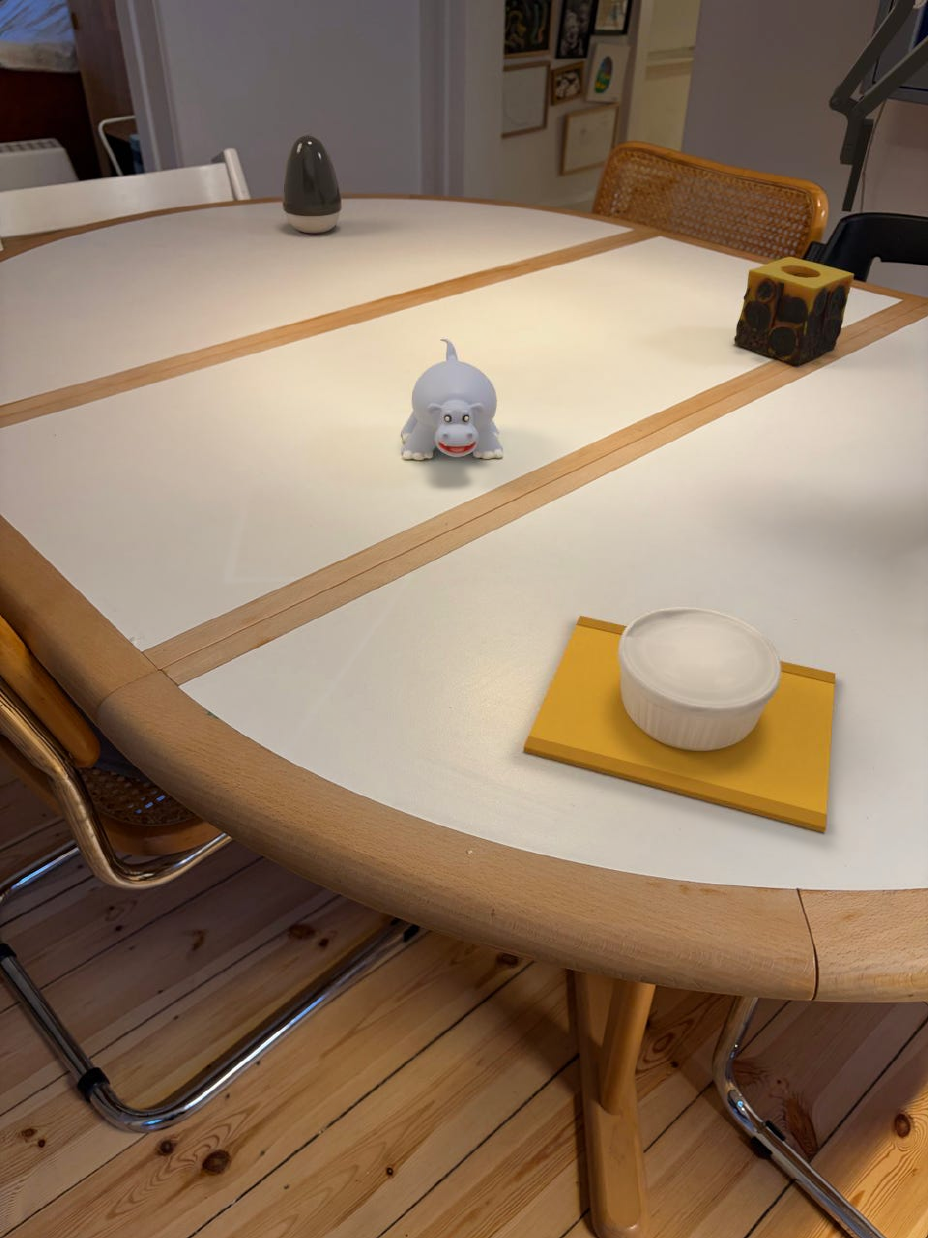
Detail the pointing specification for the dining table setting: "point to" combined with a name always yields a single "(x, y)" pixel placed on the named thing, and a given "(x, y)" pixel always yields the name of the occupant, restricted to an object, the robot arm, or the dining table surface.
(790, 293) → the candle
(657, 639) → the ramekin
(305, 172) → the black egg shape
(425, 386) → the hippopotamus toy
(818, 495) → the dining table surface
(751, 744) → the tray
